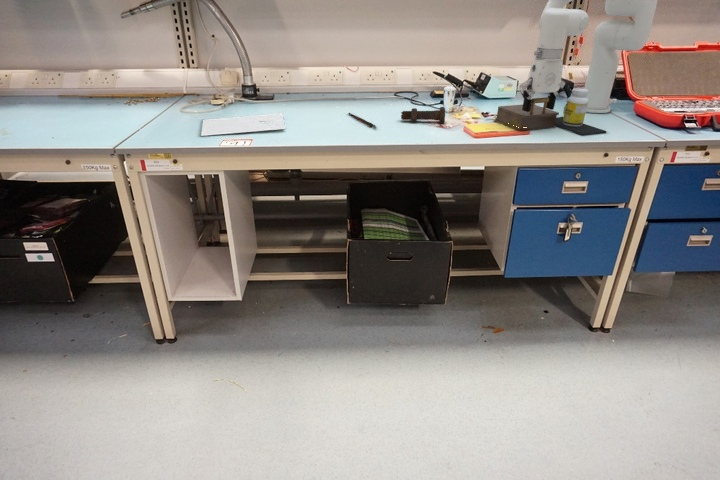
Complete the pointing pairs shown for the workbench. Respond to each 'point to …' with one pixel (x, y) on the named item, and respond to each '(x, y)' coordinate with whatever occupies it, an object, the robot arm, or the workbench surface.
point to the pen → (364, 121)
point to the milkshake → (449, 98)
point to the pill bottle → (576, 108)
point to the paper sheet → (242, 124)
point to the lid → (534, 111)
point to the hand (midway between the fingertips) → (537, 109)
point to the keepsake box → (525, 121)
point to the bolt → (424, 115)
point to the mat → (578, 128)
